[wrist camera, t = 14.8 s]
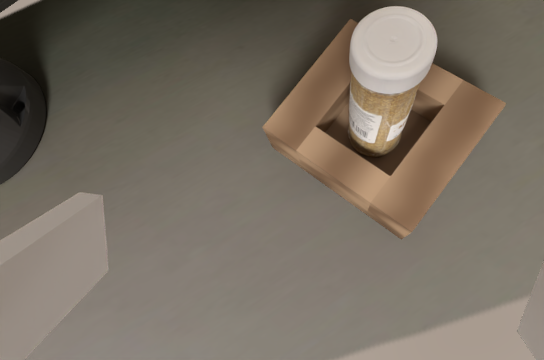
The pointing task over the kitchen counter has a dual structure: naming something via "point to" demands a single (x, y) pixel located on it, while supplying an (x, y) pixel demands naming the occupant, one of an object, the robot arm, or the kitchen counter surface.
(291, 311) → the kitchen counter surface
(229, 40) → the kitchen counter surface
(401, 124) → the sprinkles bottle
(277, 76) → the kitchen counter surface
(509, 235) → the kitchen counter surface
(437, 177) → the brown wooden square frame
